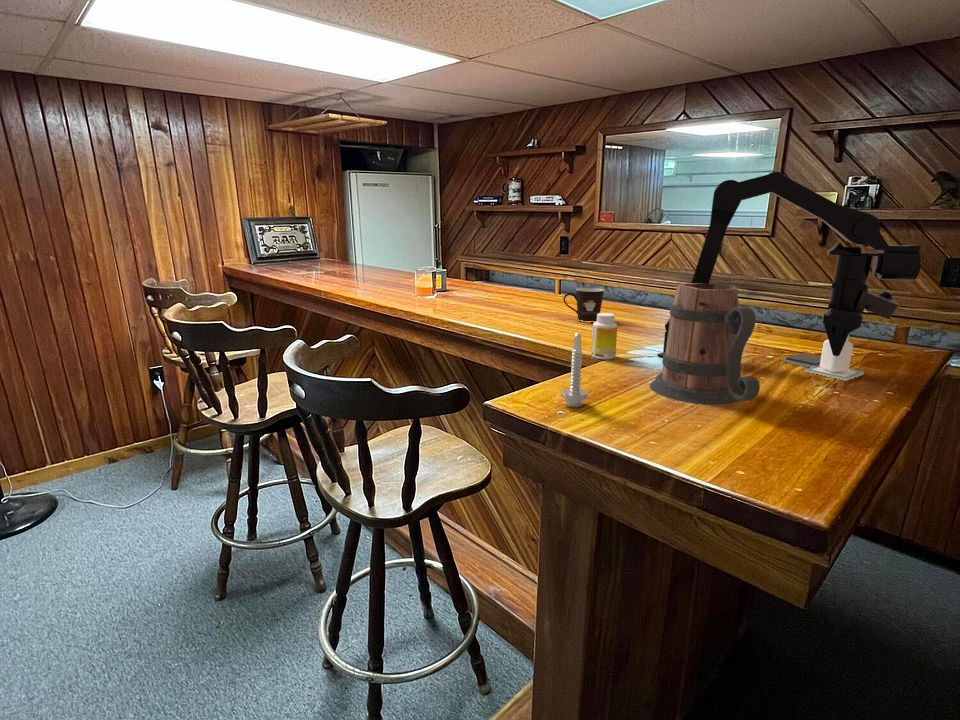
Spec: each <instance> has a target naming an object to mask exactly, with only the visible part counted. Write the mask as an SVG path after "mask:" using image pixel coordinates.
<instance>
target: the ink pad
mask: <svg viewBox="0 0 960 720" xmlns="http://www.w3.org/2000/svg"><path fill="white" fill-rule="evenodd" d="M820 361H821V355H815V354H809V353H804V352H800V353H797V354H793V355H790V356H786V358H783V359H782V363H783V362H788V363H793V364H796V365H795V366H797V365H800V366H799V367H802V366H805V367H804V368H807V367H813V366H817V367H818V366H820ZM788 363H787V364H788Z"/></svg>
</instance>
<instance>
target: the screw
mask: <svg viewBox="0 0 960 720" xmlns="http://www.w3.org/2000/svg"><path fill="white" fill-rule="evenodd" d="M572 345H573V346H572V347H571V348H572V349H571V351H572V352H571V355H572V356H571V359H570V361H571V362H570V364H571V366H570V367H571V369H570V371H571V372H570V374H571V375H570V376H569V377H570V380H569V381H570V382H569V383H570V385H569V387H568V388H565V389H563V390H562V391H561V392H560V396H561V397H562V398H564V399H566V400H565V403H566V405H567V406H568V407H570V408H579V407H581V406H583V405H584V404H583V402H584V400H586V399H588V398H589V397H590V393H588V392H587V391H586V390H585V389H582V388H581V386H582V385H581V382H582V381H581V380H582V378H581V376H582V374H581V373H582V368H581V367H582V366H583V365H582V363H583V361H582V360H583V358H582V357H583V351H582V350H583V348H582V336H581V333H579V332H577V333H575V334H574V337H573V343H572Z"/></svg>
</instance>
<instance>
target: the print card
mask: <svg viewBox="0 0 960 720" xmlns="http://www.w3.org/2000/svg"><path fill="white" fill-rule="evenodd" d="M804 371H805V372H804V373H807V372H810V373H809V374H812V373H814V374H813V375H816V374H818V375H817V376H821V375H822V377H825V376H826V377H827V378H830V377H831V379H834V378H836V379H835V380H839V379H840V380H839V381H843V380H844V382H847V381H851V380H853V379H856V378H858V377H860V376H863V375H864V373H865V372H864V371H863V370H860V369H859V370H858V369H852V368H849V370H848V371H846V372H831V371H828V370H825V369H822V368H820V366H818V367H817V366H813V367H810V368H807V367H806V368H805V369H804ZM855 377H856V378H855ZM850 379H851V380H850Z"/></svg>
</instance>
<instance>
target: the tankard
mask: <svg viewBox="0 0 960 720" xmlns="http://www.w3.org/2000/svg"><path fill="white" fill-rule="evenodd" d="M669 315H670V317H669V318H670V322H669V330H668V337H667V344H666V351H665V353H664V354H663V357H662V362H661V363H662V371H661V372H660V373H659V374H657V375H656V378H655V379H654V380H652V381H651V382H650V384H649V389H651V391H653V392H654V393H656V394H657V395H659V396H660V397H665V398H667V399H670V400H674V401H677V402H683V403H688V404H695V405H696V404H697V405H706V406H707V405H708V406H711V405H712V406H716V405H719V406H720V405H723V406H724V405H730V404H735V403H738V402H741V401H751V400H753V399H755V398H756V397H757V396H758V394H759V392H760V388H761V387H760V386H761V385H760V384H761V383H760V382H759V380H758V378H757V377H755V376H753V375H749V376H748V375H747V376H742V375H741V366H742V357H743V353H744V349H745V347H746V345H747V343H748V341H749V339H750V338H751V336H752V334H753V332H754V329H755V326H756V313H755V311H754V310H753V309H752V308H751V307H750V306H745V305H744V306H743V305H742V306H740V305H739V289H738V286H736V285H733V284H729V283H709V284H704V283H681V284H677V286H676V289H675V294H674V297H673V301H672V303H671V304H670V307H669Z"/></svg>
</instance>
